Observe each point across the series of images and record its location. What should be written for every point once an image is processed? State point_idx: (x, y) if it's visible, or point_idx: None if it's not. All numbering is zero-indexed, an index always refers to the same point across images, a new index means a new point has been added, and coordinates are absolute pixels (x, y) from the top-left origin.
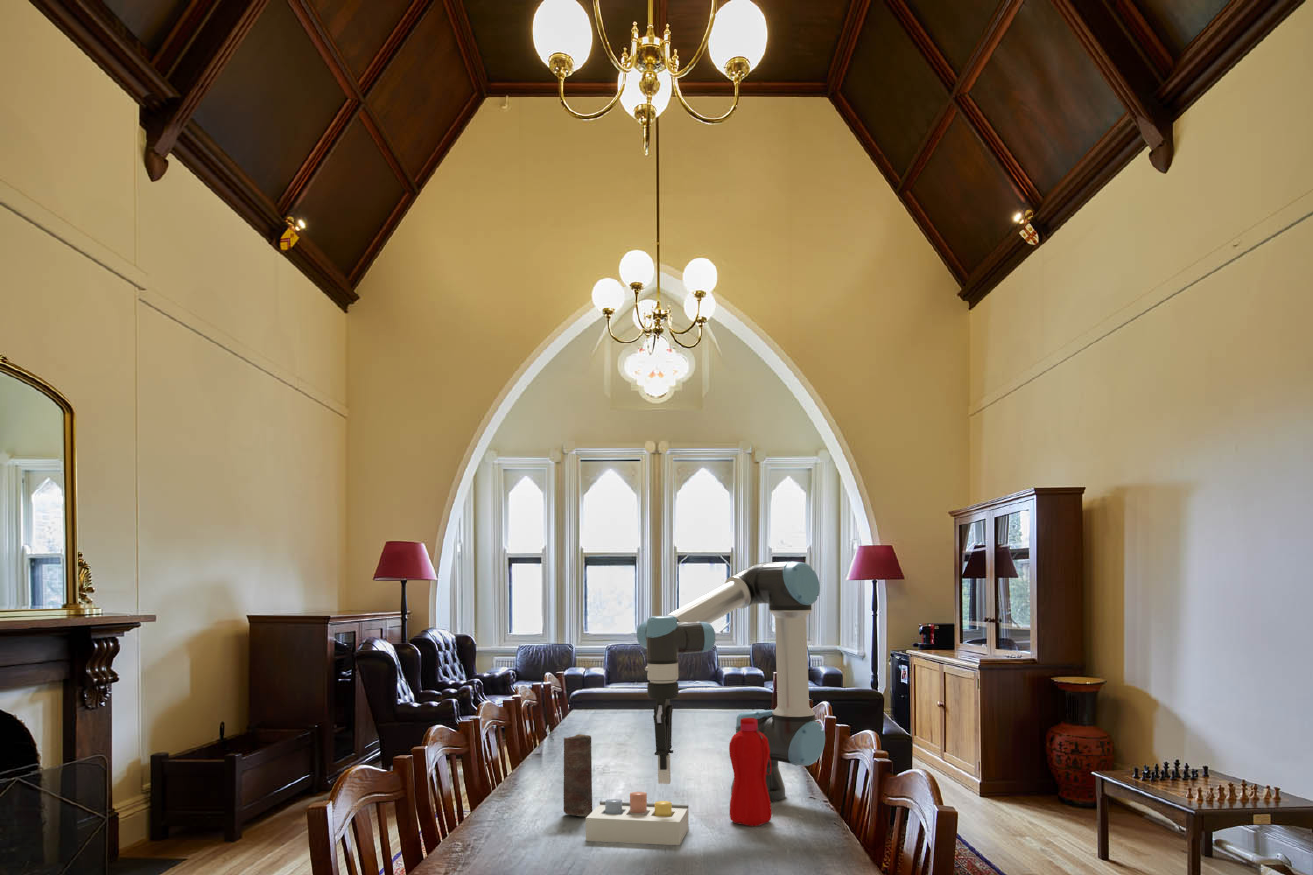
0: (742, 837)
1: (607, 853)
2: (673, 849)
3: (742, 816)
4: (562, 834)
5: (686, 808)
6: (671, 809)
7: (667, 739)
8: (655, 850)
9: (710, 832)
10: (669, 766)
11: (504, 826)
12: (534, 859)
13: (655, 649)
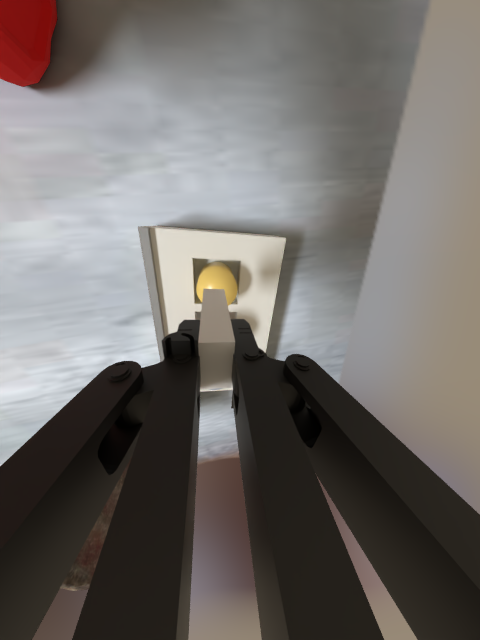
0: (194, 51)
1: (308, 332)
2: (296, 243)
3: (33, 9)
4: (228, 392)
5: (152, 231)
6: (216, 266)
7: (290, 437)
8: (299, 273)
9: (167, 166)
10: (221, 312)
11: (206, 440)
12: None
13: None
